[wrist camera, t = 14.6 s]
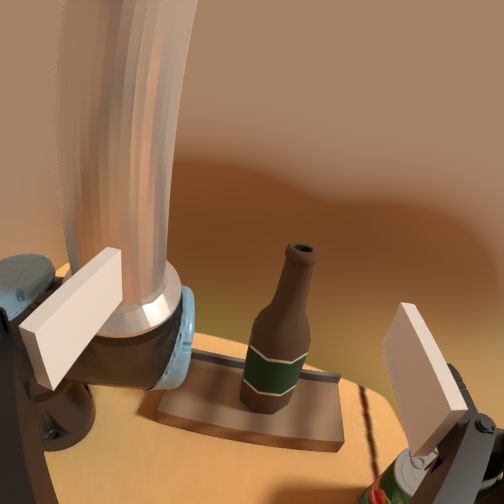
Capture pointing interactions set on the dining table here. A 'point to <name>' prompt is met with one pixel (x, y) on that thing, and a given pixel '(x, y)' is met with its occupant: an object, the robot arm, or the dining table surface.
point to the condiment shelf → (245, 420)
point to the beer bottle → (280, 337)
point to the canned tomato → (398, 480)
